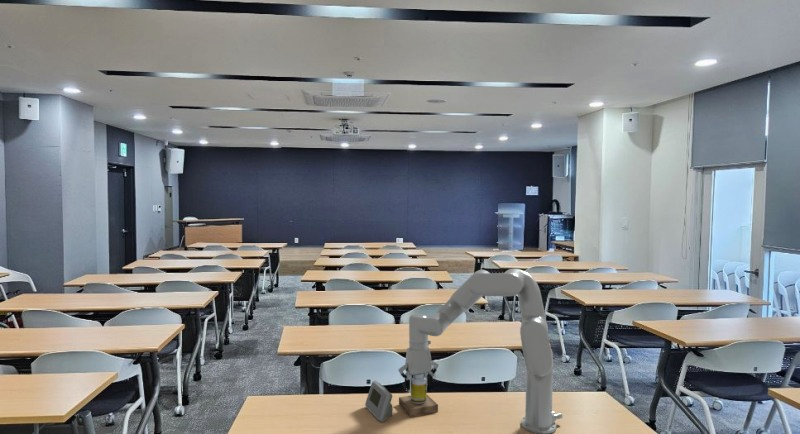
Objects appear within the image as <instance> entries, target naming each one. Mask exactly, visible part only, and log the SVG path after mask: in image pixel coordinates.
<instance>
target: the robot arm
mask: <svg viewBox="0 0 800 434" xmlns="http://www.w3.org/2000/svg"><path fill="white" fill-rule="evenodd" d="M516 295H517V297H518V299H517V300H518V305H519V306H518V307H519V309H520V317H521V324H520V329H519V330H520V331H519V335H520V341H521V347H522V354H523V360H524V361H523V362H524V365H525V368H526V369H525V370H526V371H525V416H524V417H523V418H521V420H520V424H521V426H522V428H524V429H525V430H526V431H529V432H531V433H535V434H552V433H555V431H556V430H557V423H556V420H561V419H563V414H562V413H560V412H558V413H555V411H553V384H554V383H553V379H554V378H553V376H554V374H553V373H554V372H553V368H554V351H553V350H552V348H551V343H550V337H549V326H548V325H549V324H548V322H547V317H546V313H545V312H546V311H545V309H544V308H545V307H544V303H543V297H542V293H541V289H540V287H539V285H538V282H537V281H536V280H535V279H534V277H533V276H532V275H530V274H529V273H528V272H526V270H525V271H524V270H522V269H519V268H509V269H507V270H506V271H504V272H498V273H491V272H489V271H487V270H485V269H479V270H477V271H475V272H474V273H473V274H471V276H470V277H468V279H466V280H465V282H463V284H462V285H461V286H459V287H458V289H456V290H455V291H454V292H453V293H452V295H451V296H450V298H449V299H448V300H447V301H446V302H445V303H444V304H443V305H442V306H441V307H440V308H439V309H438V310H437V311H436V312H435V313H434V314H433V315H432V316H429V317H428V316H427V315H426V314H423V313H413V314H411V315H410V316H409V319H408V324H409V325H408V332H409V333H408V335H409V336H408V337H409V339H408V343H409V344H408V345H409V347H407V349H406V354H405V363H404V365H402V366H401V367H399V368H398V370H397V371H398V372H399V374H400V376H401V377H403V379H404V387H405V388H406V390H408V391H411V379H410V378H411V377H412V376H413V375H416V374H423V373H424V374H427V375H426V381H427V386H430V387H433V384H434V383H433V382H434V380H433V379H434V375H435V374H436V372H437V370H438V367H439V363H437V362H435V361H432V356H431V355H432V354H431V350H430V347H429V345H431V343H432V341H431V340H429V336H431V337H439V336H441V335H442V334H444V332H445V331H446V329H448V327H449V326H451V325H452V324H453V322H454V321H455V320H456V319H458V318H459V317H460V316H461V315H462V314H463V313H465V312H467V311H469V310H470V309H471V308H472V307H473V306H474V305H475V304H476V303H477V302H478V301H479V300H480V299H481V298H483V297H514V296H516ZM404 371H405V373H404Z"/></svg>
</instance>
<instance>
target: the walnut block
mask: <svg viewBox="0 0 800 434" xmlns="http://www.w3.org/2000/svg"><path fill="white" fill-rule="evenodd" d="M398 405H399V406H400V407H401V409H402V410H404V412H405V413H406V414H407V416H408V417H409V418H413V417H419V416H425V415H430V414H434V413H438V412H439V404H438V403H437V402H436V401H435V400H433V398H431V397H430V396H429V395H428V394H427V400H426V402H425V403H422V404H416V403H413V402H412V401H411V395H407V396H405V395H404V396H399V397H398Z"/></svg>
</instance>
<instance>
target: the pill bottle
mask: <svg viewBox="0 0 800 434" xmlns="http://www.w3.org/2000/svg"><path fill="white" fill-rule="evenodd" d="M425 375H426V373H423V374H416V375H412V378H411V379H410V396H411V401H412V402H413V403H416V404H422V403H425V402H426V400H427V395H428V394H427V391H428V390H427V387H428V384H427V378H425Z"/></svg>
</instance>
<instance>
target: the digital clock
mask: <svg viewBox="0 0 800 434" xmlns="http://www.w3.org/2000/svg"><path fill="white" fill-rule="evenodd" d="M392 400H393V394H392V393H391V392H390V391H389V390H388V389H387V388H386V387H385V386H384V385H383V384H381V383H380V382H378V381H377V380H373V381H372V383H371V385H370V388H369V391H368V394H367V397H366V400H365V403H364V406H365V407H366V409H367V410H369V412H370V413H371V414H372V415H373V417H375V418H376V419H377V420H378V421H379V422H381V423H383V422H385V421H386V419H387V418H390V417H393V412H394V411H393V404H392Z"/></svg>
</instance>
